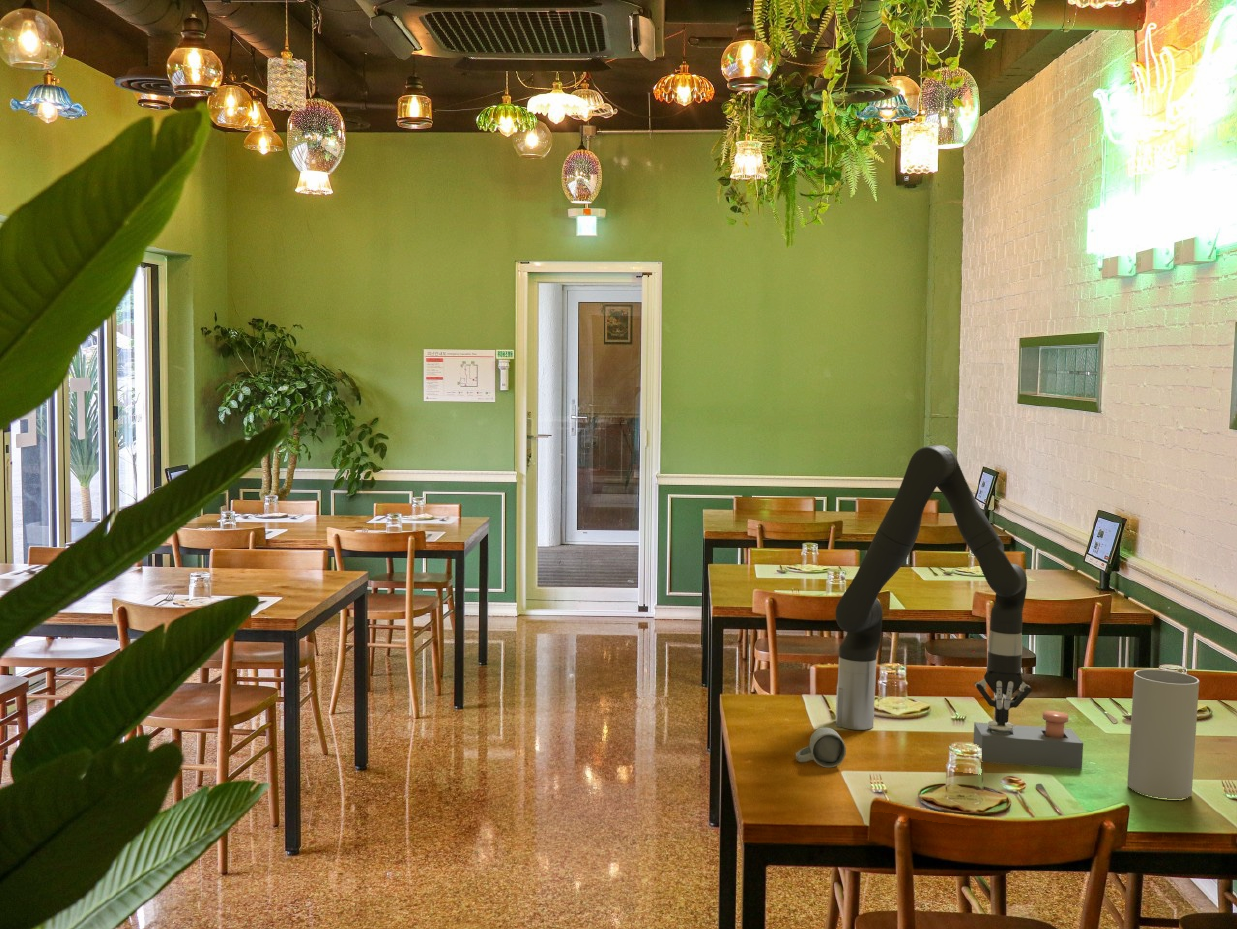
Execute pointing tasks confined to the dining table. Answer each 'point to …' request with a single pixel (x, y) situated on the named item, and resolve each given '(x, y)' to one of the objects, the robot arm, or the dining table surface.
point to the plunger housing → (1029, 747)
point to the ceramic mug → (824, 748)
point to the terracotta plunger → (1055, 723)
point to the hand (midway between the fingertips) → (1001, 724)
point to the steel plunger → (1000, 727)
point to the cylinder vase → (1163, 733)
